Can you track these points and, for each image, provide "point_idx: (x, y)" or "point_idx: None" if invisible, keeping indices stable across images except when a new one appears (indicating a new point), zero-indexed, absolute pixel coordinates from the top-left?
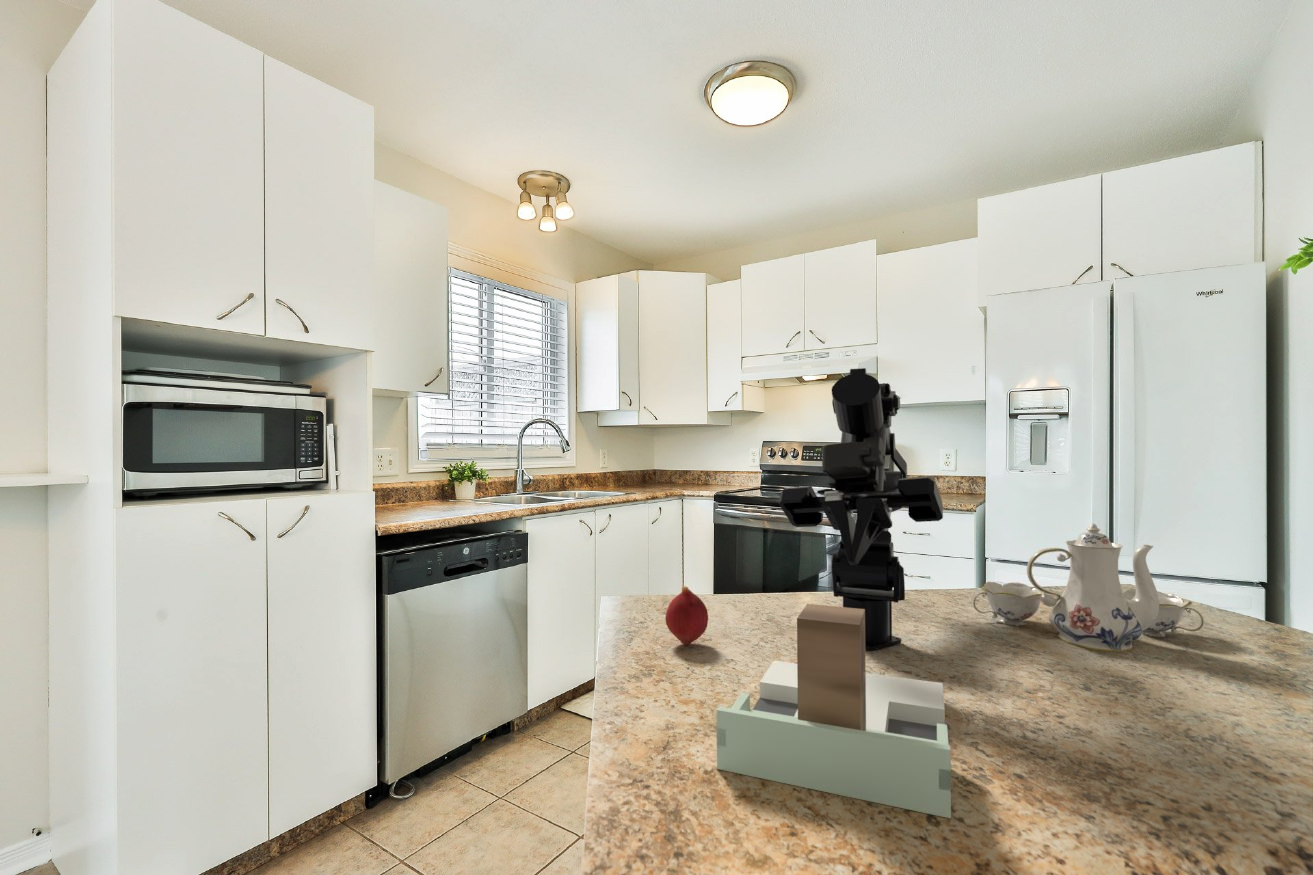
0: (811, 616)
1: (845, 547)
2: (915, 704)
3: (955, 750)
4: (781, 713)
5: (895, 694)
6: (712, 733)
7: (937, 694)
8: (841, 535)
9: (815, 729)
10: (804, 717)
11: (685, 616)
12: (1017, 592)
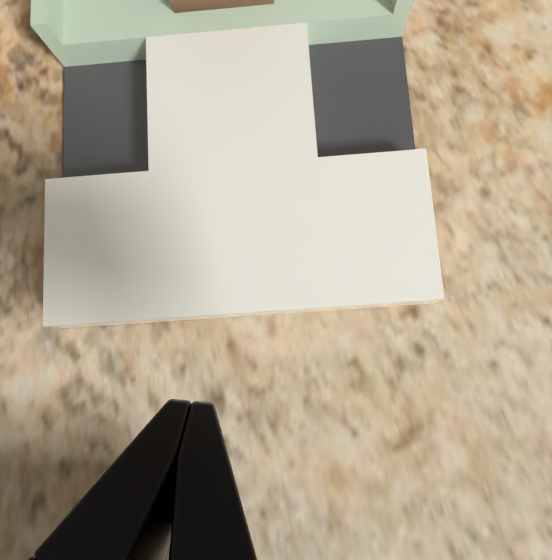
0: None
1: (221, 461)
2: (98, 177)
3: (52, 127)
4: (351, 113)
5: (138, 213)
6: (441, 3)
7: (55, 252)
8: (252, 554)
9: None
10: None
11: None
12: None
